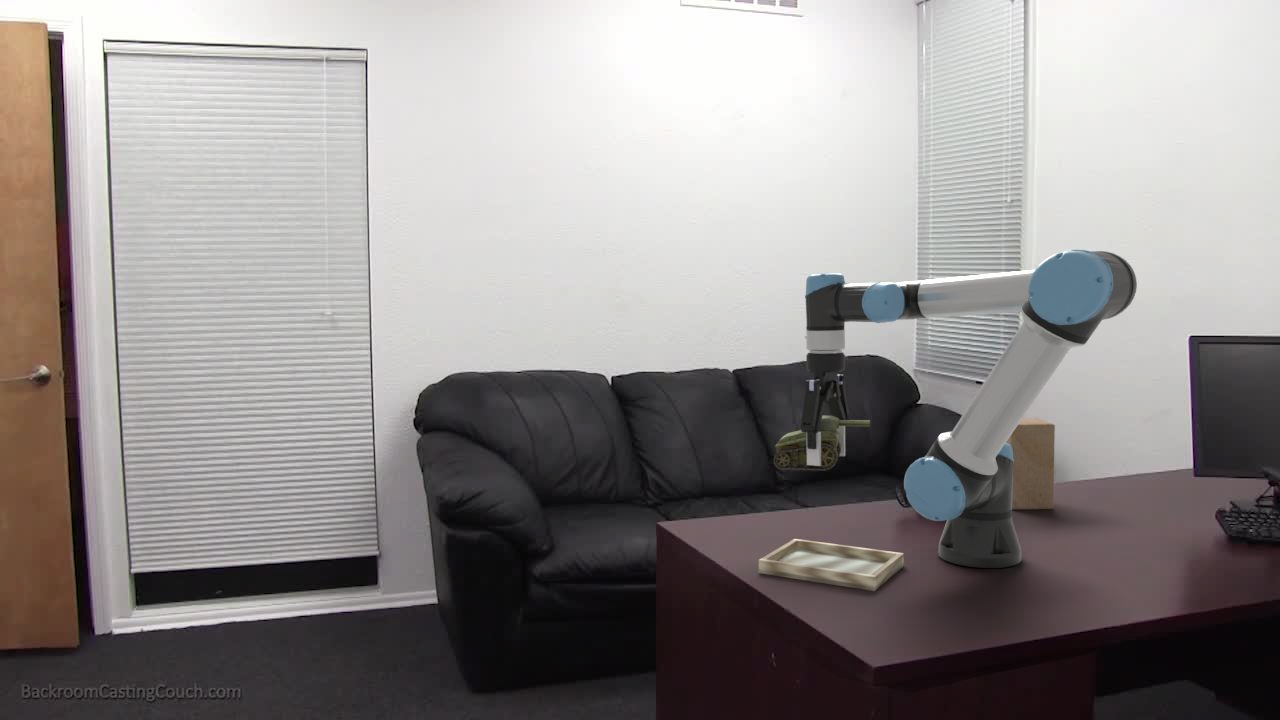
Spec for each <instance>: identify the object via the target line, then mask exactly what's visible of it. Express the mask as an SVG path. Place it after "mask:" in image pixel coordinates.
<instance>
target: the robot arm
mask: <svg viewBox="0 0 1280 720" xmlns="http://www.w3.org/2000/svg"><path fill="white" fill-rule="evenodd" d="M1137 286H1138V283H1137V276H1136V273H1135V271H1134V269H1133V267H1132V266H1131V264H1130V263H1128V262H1127V260H1126V259H1125V258H1123V257H1121V256H1120V255H1118V254H1116V253H1115V252H1114V253H1113V252H1110V251H1102V250H1100V251H1099V250H1098V251H1097V250H1096V251H1094V250H1093V251H1092V250H1091V251H1090V250H1086V249H1069V250H1064V251H1061V252H1058V253H1054V254H1053V255H1051V256H1049V257H1047V258H1045V259H1044V260H1043V261H1042V262H1040V263H1039V265H1037V267H1036V268H1035V269H1031V270H1030V269H1029V270H1020V271H1009V272H997V273H987V274H986V273H985V274H977V275H976V274H975V275H966V276H953V277H945V278H944V277H943V278H933V279H932V278H929V279H924V280H923V279H921V280H918V279H917V280H908V281H896V282H895V281H894V282H892V281H890V282H887V281H876V282H855V283H849V282H846V281H845V276H844V275H843V274H842V273H816V274H813V273H811V274H810V275H808V276H807V278H806V281H805V295H804V299H805V312H806V313H805V314H806V315H805V316H806V318H805V319H806V326H805V327H806V328H805V330H806V332H805V335H804V339H805V341H806V350H807V351H809V352H808V353H806V371H808V372H812V373H813V378H812V379H806V380H805V393H804V394H805V395H804V402H803V409H802V417H801V422H800V430H801V431H802V432H806V437H807V465H810V466H813V467H817V466H821V432H818V431H819V427H820V423H821V419H822V415H823V414H824V410H825V406H826V404H827V406H828V409H829V412H830V416H834V417H837V418H839V420H851V415H850V408H849V403H848V396H847V389H846V375H845V374H839V372H843V371H845V369H846V356H845V355H846V354H845V352H843V350H845V349H846V334H845V333H846V331H845V330H846V329H845V326H846V325H845V323H848V322H849V323H850V322H855V323H856V322H860V323H877V324H881V323H882V324H883V323H892V322H896V321H899V320H900V321H901V320H902V321H903V320H905V321H906V320H908V321H909V320H916V319H917V320H918V319H919V320H920V319H928V318H929V319H931V318H945V317H946V318H947V317H949V318H950V317H963V316H981V315H984V316H985V315H997V314H998V315H999V314H1016V313H1017V314H1018V313H1021V316H1022V319H1023V321H1022V323H1021V325H1020V327H1019V328H1018V330H1017V331H1016V333H1014V336H1013V337H1012V339H1011V340H1010V342H1009V343H1008V345H1007V346H1006V348H1005V349H1004V351H1003V353H1002V354H1001V355H1000V357H999V359H998V360H997V362H996V363H995V365H994V366H993V368H992V370H991V371H990V373H989V374H988V376H987V377H986V379H985V380H984V382H983V383H982V385H981V386H980V388H979V389H978V391H977V392H976V394H975V395H974V397H973V398H972V400H971V401H970V403H969V405H968V406H967V408H966V409H965V410H964V412H963V414H962V415H961V417H960V419H959V420H958V422H957V423H956V424H955V426H954V427H953V429H952V430H951V431H946V432H942V433H940V434H939V435H938V436H937V438H936V439H935V441H934V442H933V444H932V445H931V447H930V448H929V450H928V452H927V453H926V455H924V457H923V456H922V457H919V458H918V459H915V460H914V462H912V463H911V464H910V465H909V466H908V468H907V469H906V471H905V474H904V479H903V489H904V491H905V494H906V498H907V501H908V503H909V504H910V506H911V507H912V508H913V509H914V510H915V511H916V513H918V514H919V515H920V516H922V517H924V518H925V519H927V520H930V521H934V522H943V521H946V522H945V525H944V527H943V531H942V533H941V536H940V539H939V542H938V556H939V557H940V558H941V559H942V560H944V561H946V562H949V563H952V564H955V565H959V566H963V567H971V568H978V569H979V568H980V569H982V568H983V569H1000V568H1001V569H1003V568H1008V567H1013V566H1017V565H1019V564H1021V562H1022V548H1021V544H1020V542H1019V541H1020V540H1019V538H1018V537H1019V536H1018V534H1017V531H1016V527H1015V525H1014V522H1013V510H1012V497H1013V464H1014V459H1013V450H1012V447H1011V445H1010V444H1008V443H1006V442H1007V440H1008V439H1009V437H1010V436H1011V434H1012V433H1013V431H1014V430H1015V428H1016V427H1017V426H1018V424H1019V423H1020V421H1021V420H1022V418H1024V417H1025V416H1026V414H1027V412H1028V411H1029V409H1030V408H1031V406H1032V405H1033V403H1034V402H1035V401H1036V399H1037V398H1038V396H1039V395H1040V394H1041V392H1042V391H1043V389H1044V388H1045V386H1046V385H1047V383H1048V382H1049V381H1050V379H1051V378H1052V376H1053V374H1054V373H1055V372H1056V370H1057V368H1058V367H1059V366H1060V365H1061V363H1062V362H1063V360H1064V358H1065V357H1066V356H1067V354H1068V353H1069V351H1070V349H1072V348H1077V347H1082V346H1085V345H1086V344H1087V342H1088V341H1089V339H1090V338H1091V336H1092V335H1093V334H1094V332H1095V330H1096V329H1097V328H1098V327H1099V325H1100V324H1101V323H1102V321H1103V320H1107V319H1113V318H1114V317H1116V316H1118V315H1120V314H1122V313H1123V312H1124V311H1125V310H1126V309H1127V308H1129V306H1130V305H1131V303H1133V301H1134V299H1135V296H1136V293H1137ZM836 430H837V431H838V433H840V435H839V440H838V442H839V444H840V447H841V452H840V455H839V457H846V426H839V428H838V429H836Z"/></svg>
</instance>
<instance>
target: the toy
mask: <svg viewBox="0 0 1280 720" xmlns="http://www.w3.org/2000/svg"><path fill="white" fill-rule="evenodd" d="M839 426H845V427H871V420H870V419H869V420H867V419H866V420H865V419H863V420H862V419H850V420H839V418H837V417H834V416H831V415H822V419H821V423H820V427H819V431H818V432H821V466H811V465H807V437H806V432H802V431H801V429H800V430H795V431H791V432H788V433H786V434H785V435H783V436H782V437H781V438H780V439H779V440H778V442H777V443H776V444H775V445H774V448H776V449H775V450H776V453H775V455H774V457H773V464H774V466H775V467H776V468H777V469H779V470H781V471H782V470H783V471H784V470H786V471H790V470H791V471H823V472H824V471H829V470H831V469H833V467H834V466H836V464H837V462H838V459H839V457H840V456H839V455H840V452H841V447H840V444H839V442H838V440H839V435H840V433H838V431H837V430H836V429H838V428H839ZM800 465H802V466H800Z"/></svg>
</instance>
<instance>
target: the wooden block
mask: <svg viewBox="0 0 1280 720" xmlns="http://www.w3.org/2000/svg"><path fill="white" fill-rule="evenodd" d="M1055 427H1056V425H1055V424H1054V423H1051V422H1049V421H1046V420H1043V419H1041V418H1037V417H1035V418H1034V417H1031V418H1030V417H1029V418H1024V417H1023V418H1022V420H1021V421H1020V423H1019V424H1018V426H1017V427H1016V428H1015V430H1014V431H1013V433H1012V434H1011V436H1010V437H1009V439H1008V440H1007V442H1006V443H1008V444H1010V445H1011V447H1012V450H1013V459H1014V464H1013V497H1012V511H1014V510H1016V511H1017V510H1018V511H1019V510H1022V511H1023V510H1053V509H1054V491H1055V490H1054V488H1055V487H1054V486H1055V485H1054V484H1055V483H1054V481H1055V436H1056V435H1055V431H1056V429H1055Z"/></svg>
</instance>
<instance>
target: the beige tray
mask: <svg viewBox="0 0 1280 720" xmlns="http://www.w3.org/2000/svg"><path fill="white" fill-rule="evenodd" d="M904 556H905V554H904V552H896V551H892V550H891V551H890V550H889V551H888V550H881V549H875V548H866V547H860V546H852V545H846V544H836V543H832V542H831V543H830V542H822V541H813V540H808V539H800V538H799V539H798V538H793V539H791V540H790V541H788V542H787V543H784V544H783V545H782V546H780V547H778V548H776V549H775V550H772V552H770V553H768V554H766V555H765V556H763V557H761V558H760V559H758V574H763V575H768V576H775V577H782V578H786V579H787V578H788V579H793V580H794V579H795V580H800V581H808V582H812V583H813V582H814V583H819V584H826V585H833V586H839V587H846V588H853V589H858V590H865V591H872V592H876V590H878V589H879V588H880V587H881V586H882V585H884V583H886V582H887V581H888V580H890V579H891V578H892V577H893V576H894V575H895V574H897V573H898V572H899V571H900V570H902V568H904V564H905V563H904V562H905V557H904Z"/></svg>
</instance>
